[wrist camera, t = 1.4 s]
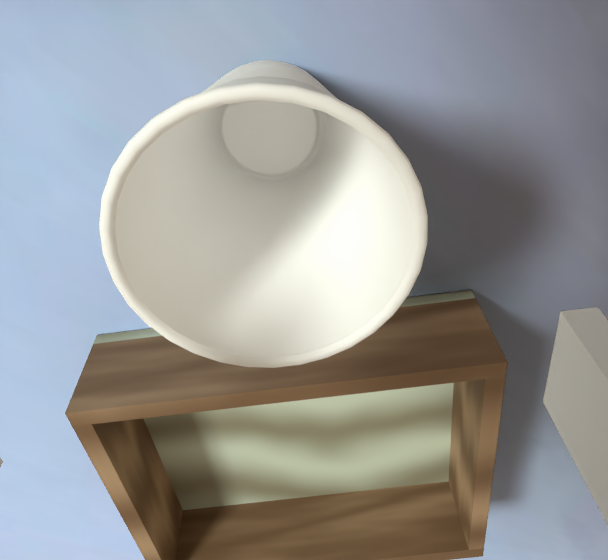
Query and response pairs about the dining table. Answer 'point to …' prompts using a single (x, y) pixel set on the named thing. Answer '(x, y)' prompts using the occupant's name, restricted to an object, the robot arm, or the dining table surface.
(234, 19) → the dining table surface
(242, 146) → the cup
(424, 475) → the crate
